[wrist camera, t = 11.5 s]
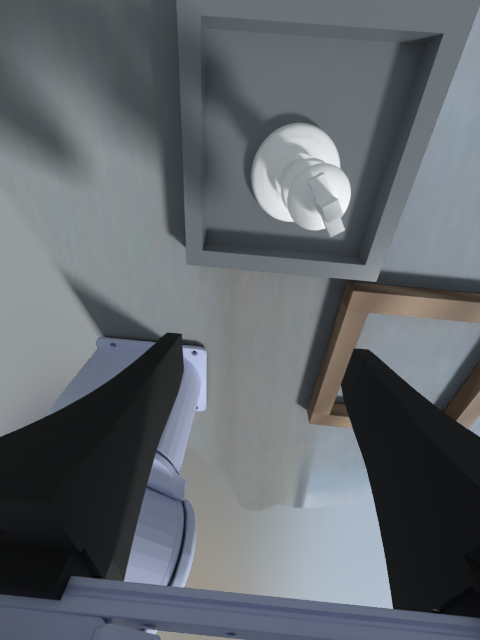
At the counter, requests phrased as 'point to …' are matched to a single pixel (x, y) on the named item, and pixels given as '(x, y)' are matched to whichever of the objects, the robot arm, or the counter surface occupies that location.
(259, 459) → the counter surface
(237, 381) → the counter surface
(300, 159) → the chess piece
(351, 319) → the brown square frame
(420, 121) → the tray
